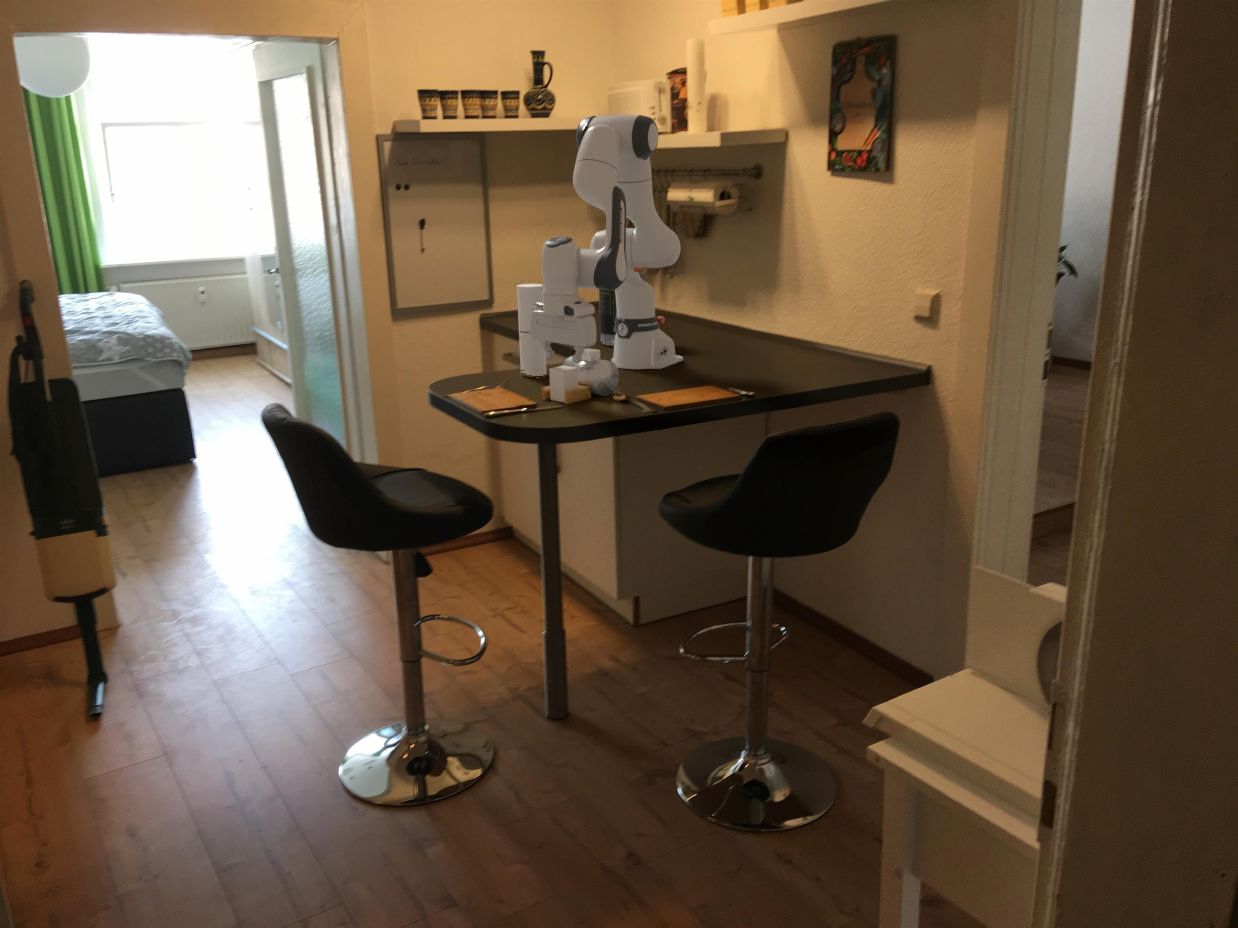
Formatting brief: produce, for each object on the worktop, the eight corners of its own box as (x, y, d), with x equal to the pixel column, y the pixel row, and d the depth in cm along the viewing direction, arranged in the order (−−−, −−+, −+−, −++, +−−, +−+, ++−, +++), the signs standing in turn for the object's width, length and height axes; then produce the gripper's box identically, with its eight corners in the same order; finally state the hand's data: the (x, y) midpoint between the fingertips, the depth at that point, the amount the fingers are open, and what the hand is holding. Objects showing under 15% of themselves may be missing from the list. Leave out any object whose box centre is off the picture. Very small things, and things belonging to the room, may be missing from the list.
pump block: (550, 399, 252) (549, 368, 250) (564, 396, 255) (563, 365, 253) (564, 402, 249) (563, 371, 246) (578, 399, 252) (577, 367, 250)
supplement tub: (656, 345, 324) (656, 263, 316) (612, 349, 317) (611, 266, 310) (634, 337, 337) (633, 259, 330) (592, 342, 331) (590, 262, 323)
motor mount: (585, 386, 266) (584, 345, 263) (619, 392, 258) (618, 350, 255) (537, 398, 253) (536, 355, 250) (571, 405, 246) (570, 360, 242)
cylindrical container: (529, 378, 277) (525, 287, 269) (516, 374, 282) (512, 285, 275) (551, 375, 281) (547, 285, 273) (537, 371, 286) (534, 283, 279)
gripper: (522, 303, 250) (525, 357, 254) (581, 310, 237) (583, 368, 241) (541, 300, 254) (543, 353, 258) (599, 307, 241) (601, 363, 245)
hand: (563, 360), depth 250 cm, fingers open, 8 cm apart
